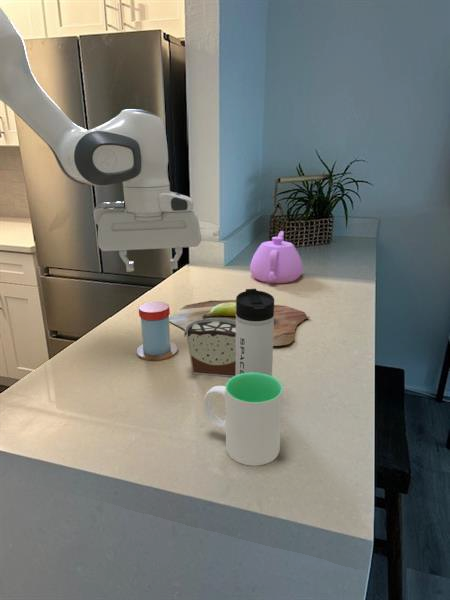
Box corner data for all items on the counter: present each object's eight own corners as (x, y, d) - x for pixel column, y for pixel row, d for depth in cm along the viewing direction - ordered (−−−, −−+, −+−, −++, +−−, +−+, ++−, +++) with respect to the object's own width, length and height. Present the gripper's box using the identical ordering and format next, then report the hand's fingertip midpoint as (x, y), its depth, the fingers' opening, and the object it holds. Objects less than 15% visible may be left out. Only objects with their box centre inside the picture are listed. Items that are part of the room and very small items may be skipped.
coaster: (136, 362, 90) (136, 360, 90) (136, 344, 98) (136, 342, 98) (179, 358, 91) (179, 356, 91) (176, 340, 100) (176, 338, 99)
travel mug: (265, 389, 80) (268, 287, 73) (275, 410, 73) (279, 300, 67) (232, 393, 79) (232, 289, 72) (239, 414, 72) (240, 302, 66)
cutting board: (315, 310, 117) (316, 297, 116) (293, 353, 93) (293, 337, 92) (197, 295, 129) (197, 283, 128) (151, 330, 105) (150, 316, 104)
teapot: (300, 288, 135) (302, 245, 130) (244, 285, 138) (245, 243, 133) (303, 267, 158) (306, 230, 153) (255, 265, 161) (256, 228, 156)
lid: (139, 321, 88) (138, 313, 88) (139, 310, 94) (138, 302, 93) (170, 319, 89) (170, 311, 89) (168, 308, 95) (168, 300, 95)
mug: (193, 450, 64) (190, 389, 60) (215, 419, 71) (214, 363, 67) (270, 471, 60) (273, 407, 56) (285, 437, 67) (288, 378, 63)
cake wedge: (250, 363, 89) (251, 318, 86) (246, 378, 83) (247, 331, 80) (192, 358, 91) (191, 315, 88) (185, 373, 86) (183, 326, 82)
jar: (142, 356, 91) (139, 315, 88) (143, 344, 97) (139, 305, 94) (171, 354, 92) (169, 313, 89) (169, 342, 98) (167, 303, 94)
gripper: (90, 204, 79) (98, 277, 84) (201, 201, 82) (202, 270, 87) (94, 200, 85) (101, 268, 90) (197, 197, 88) (199, 262, 93)
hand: (152, 269), depth 88 cm, fingers open, 7 cm apart
